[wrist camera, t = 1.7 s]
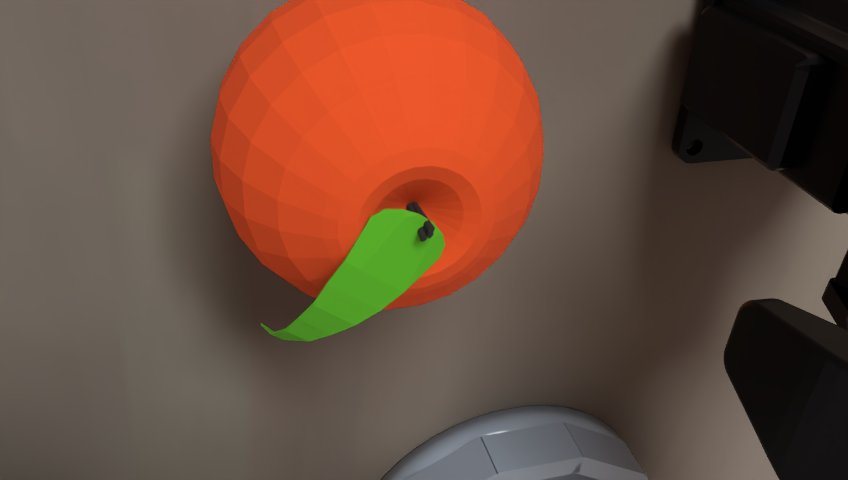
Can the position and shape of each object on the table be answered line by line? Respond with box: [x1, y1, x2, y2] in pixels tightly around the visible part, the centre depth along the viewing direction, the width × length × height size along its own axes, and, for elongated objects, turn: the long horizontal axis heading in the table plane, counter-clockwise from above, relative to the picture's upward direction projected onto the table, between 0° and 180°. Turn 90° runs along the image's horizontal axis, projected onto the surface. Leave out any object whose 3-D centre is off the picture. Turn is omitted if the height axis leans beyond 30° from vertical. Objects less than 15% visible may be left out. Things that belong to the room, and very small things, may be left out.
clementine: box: [210, 0, 543, 342], centre depth 17 cm, size 8×7×7 cm
